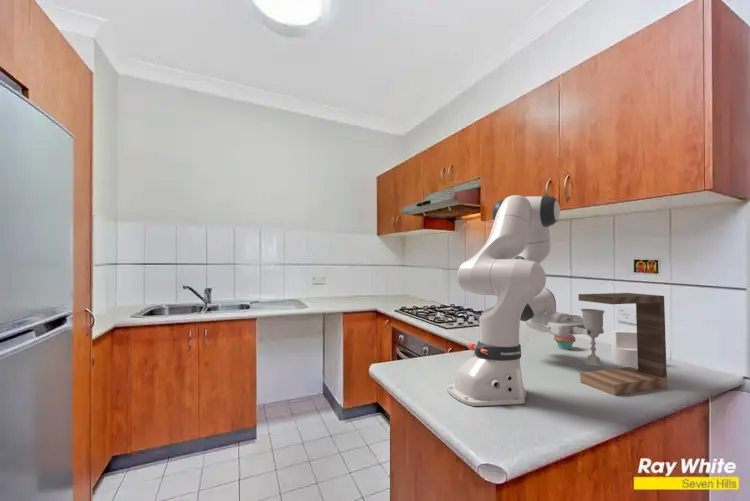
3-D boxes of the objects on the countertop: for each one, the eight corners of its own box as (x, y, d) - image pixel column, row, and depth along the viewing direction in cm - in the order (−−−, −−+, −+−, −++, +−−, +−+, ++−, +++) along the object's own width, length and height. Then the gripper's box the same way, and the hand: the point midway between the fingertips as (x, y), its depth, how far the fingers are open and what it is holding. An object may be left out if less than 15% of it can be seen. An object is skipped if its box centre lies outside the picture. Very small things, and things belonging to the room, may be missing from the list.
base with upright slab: (630, 360, 130) (630, 329, 130) (647, 367, 121) (646, 334, 122) (606, 359, 131) (605, 329, 131) (621, 366, 122) (620, 333, 122)
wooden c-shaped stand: (614, 395, 94) (612, 297, 95) (580, 382, 105) (578, 294, 106) (667, 387, 101) (664, 295, 102) (629, 375, 111) (627, 292, 112)
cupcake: (570, 346, 151) (570, 320, 152) (579, 351, 143) (578, 323, 143) (550, 345, 152) (550, 319, 153) (558, 350, 144) (557, 323, 145)
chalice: (610, 367, 108) (609, 312, 109) (587, 365, 109) (586, 311, 110) (599, 360, 115) (598, 309, 116) (577, 359, 116) (577, 308, 117)
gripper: (539, 317, 122) (571, 323, 109) (581, 315, 128) (616, 321, 115) (539, 334, 121) (572, 343, 108) (581, 331, 128) (617, 339, 114)
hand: (595, 331), depth 112 cm, fingers closed on chalice, 5 cm apart
